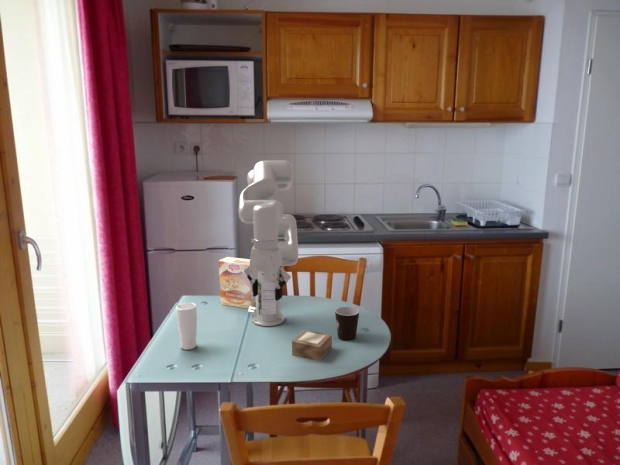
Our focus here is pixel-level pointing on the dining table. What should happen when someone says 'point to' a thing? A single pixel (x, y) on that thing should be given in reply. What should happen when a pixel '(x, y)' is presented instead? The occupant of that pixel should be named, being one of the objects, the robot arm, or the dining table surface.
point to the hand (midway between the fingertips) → (267, 296)
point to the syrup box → (266, 295)
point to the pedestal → (312, 345)
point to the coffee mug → (347, 322)
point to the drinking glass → (187, 325)
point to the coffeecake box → (235, 283)
